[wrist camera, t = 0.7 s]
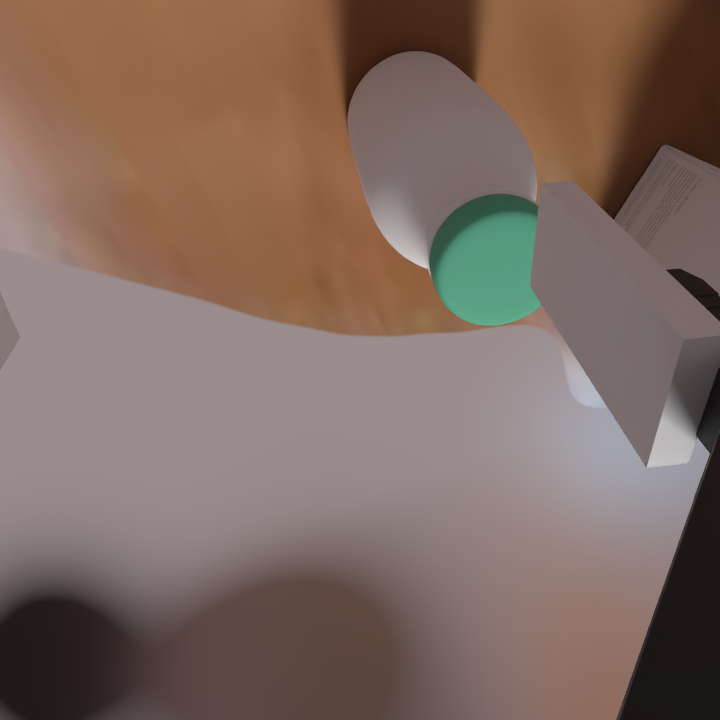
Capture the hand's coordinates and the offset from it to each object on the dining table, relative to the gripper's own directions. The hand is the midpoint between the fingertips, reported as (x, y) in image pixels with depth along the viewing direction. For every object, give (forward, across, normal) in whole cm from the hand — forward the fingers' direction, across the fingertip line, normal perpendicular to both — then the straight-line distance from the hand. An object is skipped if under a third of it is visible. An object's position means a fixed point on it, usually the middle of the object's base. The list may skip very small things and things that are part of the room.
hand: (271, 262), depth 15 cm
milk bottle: (+25, +7, -4) cm, 26 cm away
